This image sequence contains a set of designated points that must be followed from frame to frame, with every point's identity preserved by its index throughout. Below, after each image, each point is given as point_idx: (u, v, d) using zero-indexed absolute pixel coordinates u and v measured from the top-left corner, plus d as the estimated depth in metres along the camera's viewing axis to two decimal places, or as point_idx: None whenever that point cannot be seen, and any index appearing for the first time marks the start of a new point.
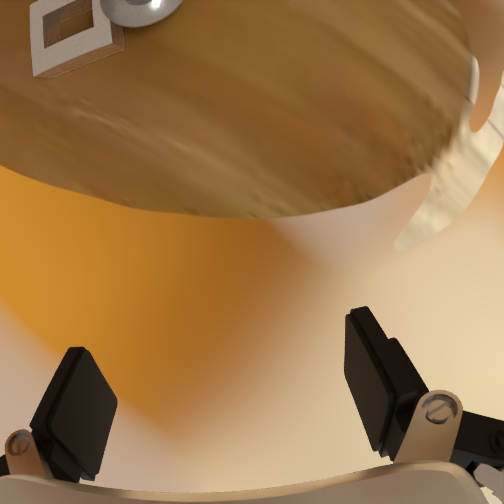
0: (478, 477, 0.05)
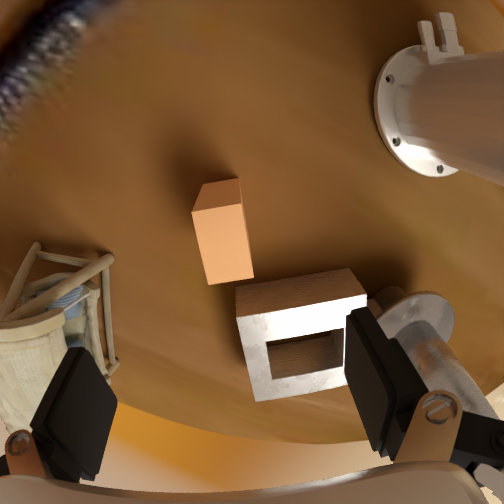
0: (478, 477, 0.05)
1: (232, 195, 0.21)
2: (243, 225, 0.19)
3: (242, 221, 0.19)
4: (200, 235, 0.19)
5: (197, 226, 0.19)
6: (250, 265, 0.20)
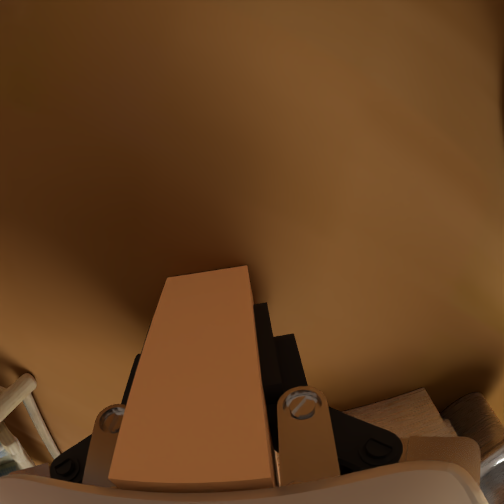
0: None
1: (235, 387, 0.06)
2: None
3: None
4: None
5: None
6: None
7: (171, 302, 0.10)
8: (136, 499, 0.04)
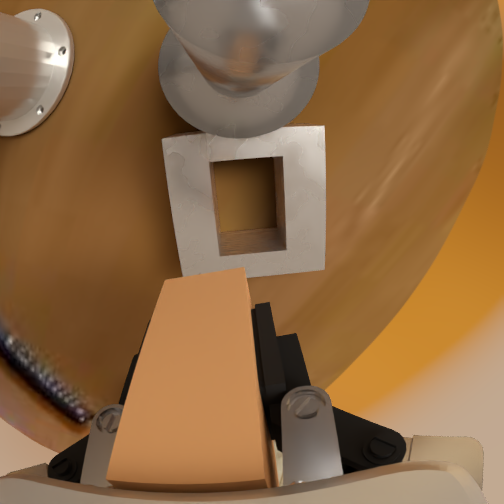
0: None
1: (231, 389, 0.06)
2: None
3: None
4: None
5: None
6: None
7: (169, 304, 0.10)
8: (136, 499, 0.04)
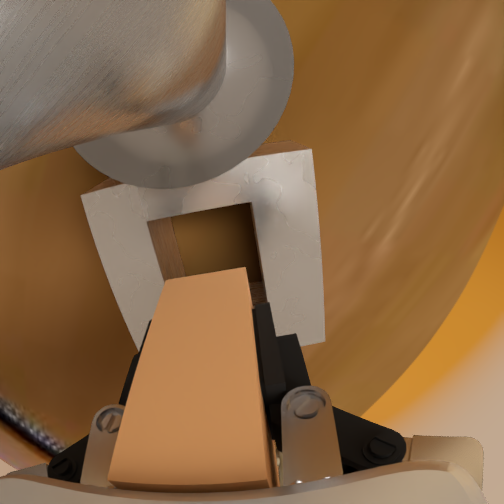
0: None
1: (233, 389, 0.06)
2: None
3: None
4: None
5: None
6: None
7: (170, 304, 0.10)
8: (136, 499, 0.04)
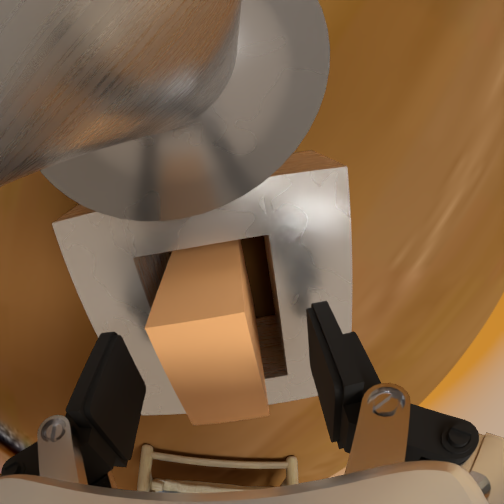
0: None
1: (226, 276, 0.11)
2: (250, 348, 0.09)
3: (247, 342, 0.09)
4: (168, 364, 0.10)
5: (160, 351, 0.09)
6: (264, 402, 0.11)
7: None
8: (136, 499, 0.04)
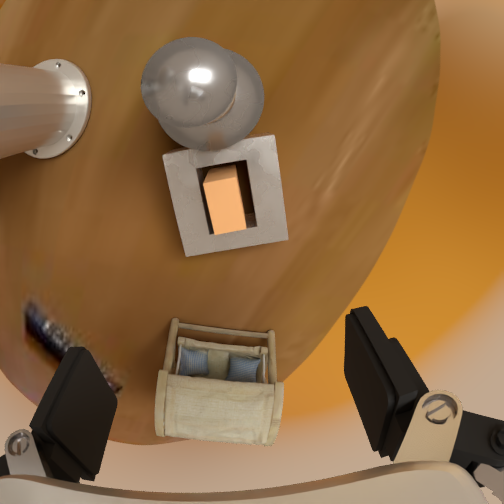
0: (478, 477, 0.05)
1: (230, 173, 0.30)
2: (238, 191, 0.28)
3: (237, 189, 0.28)
4: (209, 199, 0.28)
5: (207, 193, 0.28)
6: (243, 220, 0.29)
7: (212, 171, 0.34)
8: (136, 499, 0.04)
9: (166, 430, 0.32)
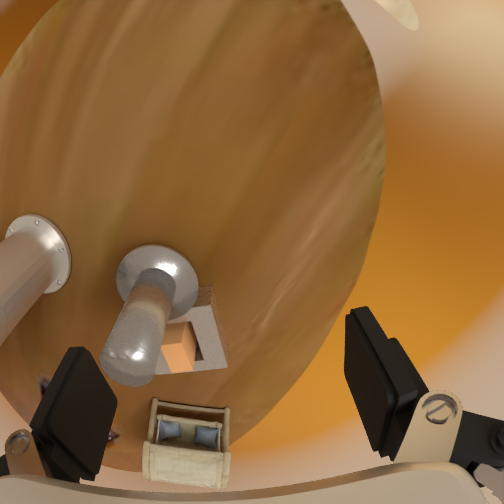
0: (478, 477, 0.05)
1: (179, 332, 0.40)
2: (184, 350, 0.38)
3: (183, 349, 0.38)
4: (165, 354, 0.38)
5: (163, 351, 0.38)
6: (190, 365, 0.39)
7: None
8: (136, 499, 0.04)
9: (151, 478, 0.42)
